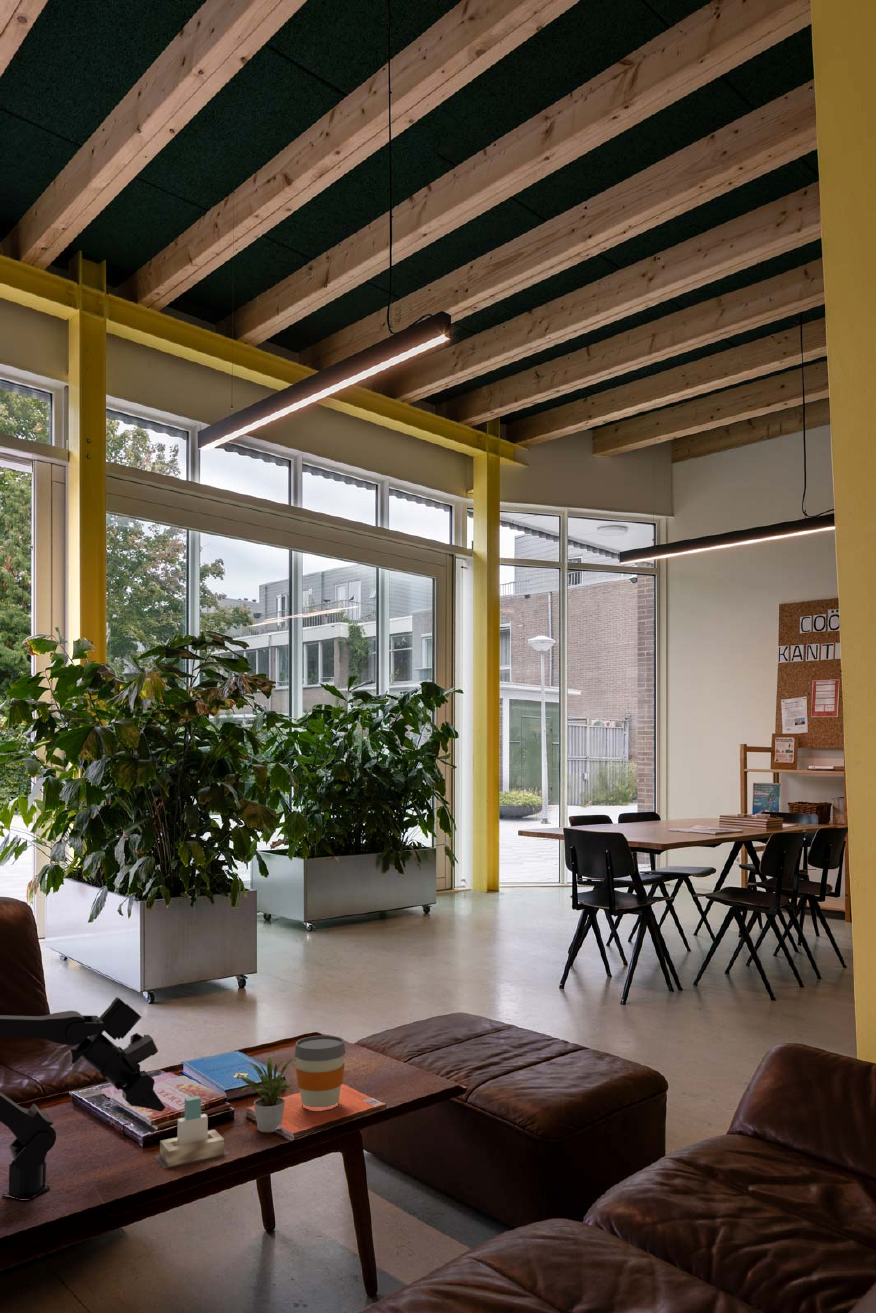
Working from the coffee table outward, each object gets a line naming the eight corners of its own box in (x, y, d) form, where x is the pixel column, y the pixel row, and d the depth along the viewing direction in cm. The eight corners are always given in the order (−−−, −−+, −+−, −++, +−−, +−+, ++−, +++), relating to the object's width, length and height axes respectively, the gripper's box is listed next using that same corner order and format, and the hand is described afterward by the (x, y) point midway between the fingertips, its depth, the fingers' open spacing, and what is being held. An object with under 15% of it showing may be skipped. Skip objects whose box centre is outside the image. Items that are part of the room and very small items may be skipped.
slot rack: (168, 1166, 202) (168, 1151, 202) (159, 1155, 208) (160, 1140, 208) (224, 1153, 208) (224, 1139, 208) (214, 1143, 214) (214, 1129, 214)
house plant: (280, 1112, 234) (280, 1042, 236) (315, 1126, 224) (314, 1053, 226) (229, 1128, 224) (229, 1055, 226) (263, 1143, 214) (263, 1067, 216)
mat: (164, 1170, 201) (164, 1168, 201) (154, 1157, 208) (154, 1155, 208) (229, 1155, 208) (229, 1153, 208) (218, 1143, 215) (218, 1141, 215)
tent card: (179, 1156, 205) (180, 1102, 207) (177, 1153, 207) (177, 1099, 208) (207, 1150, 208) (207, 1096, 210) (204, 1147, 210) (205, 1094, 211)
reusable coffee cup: (332, 1116, 230) (331, 1050, 232) (285, 1111, 234) (285, 1046, 236) (354, 1099, 242) (353, 1037, 244) (309, 1094, 246) (309, 1033, 248)
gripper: (144, 1034, 197) (197, 1082, 201) (124, 1015, 213) (173, 1059, 217) (103, 1081, 192) (158, 1129, 196) (85, 1058, 208) (137, 1103, 212)
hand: (157, 1102), depth 205 cm, fingers open, 9 cm apart
